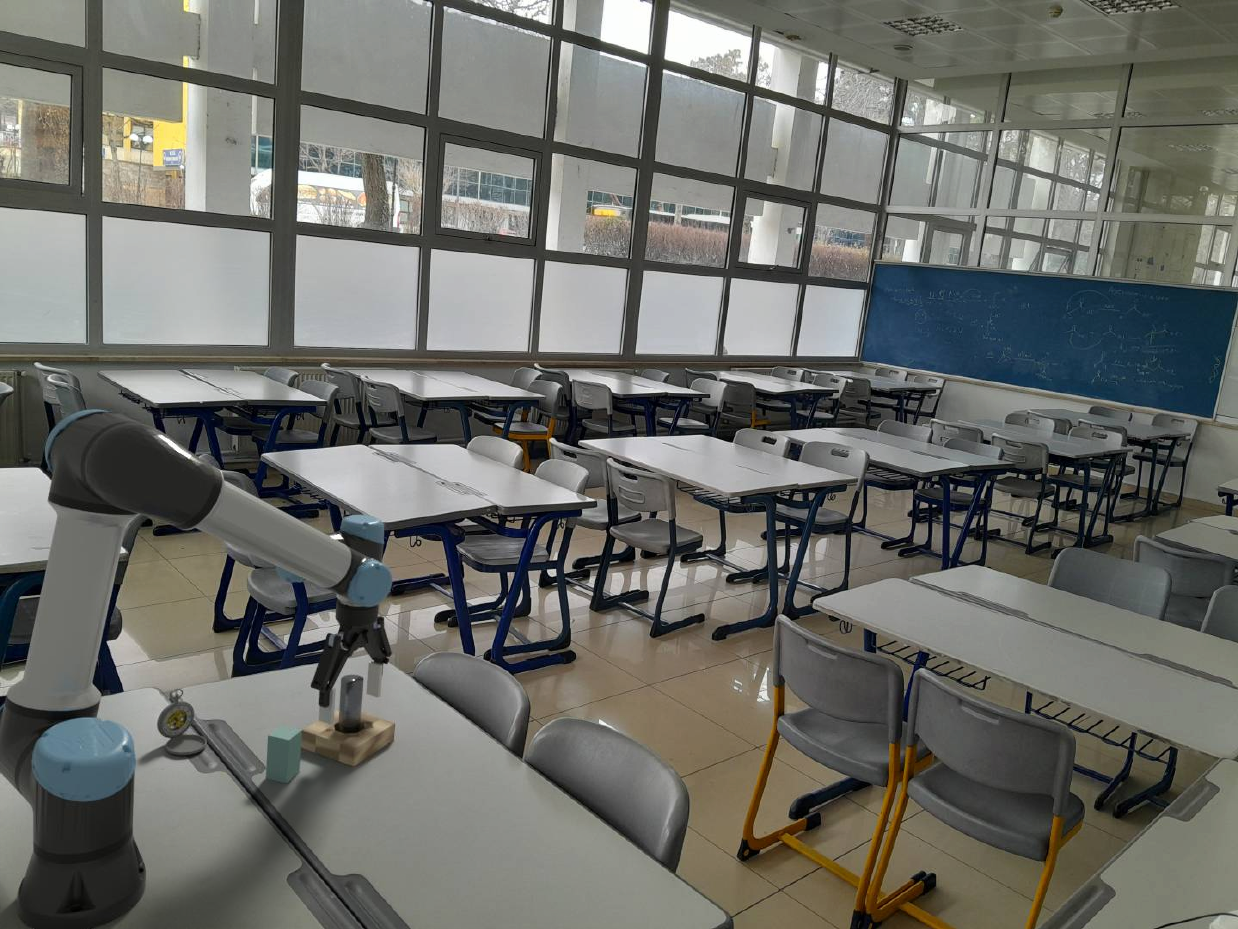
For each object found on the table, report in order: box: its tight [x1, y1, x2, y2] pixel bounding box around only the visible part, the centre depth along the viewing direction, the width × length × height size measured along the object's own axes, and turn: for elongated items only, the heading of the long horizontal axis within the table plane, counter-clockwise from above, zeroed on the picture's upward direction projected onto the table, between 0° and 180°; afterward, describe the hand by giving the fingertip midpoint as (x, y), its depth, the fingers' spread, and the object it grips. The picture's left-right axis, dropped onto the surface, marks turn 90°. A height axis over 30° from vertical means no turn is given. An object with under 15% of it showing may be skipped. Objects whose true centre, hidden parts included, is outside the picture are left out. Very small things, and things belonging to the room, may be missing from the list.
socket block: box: [301, 709, 396, 767], centre depth 173 cm, size 12×12×4 cm
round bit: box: [338, 674, 364, 734], centre depth 172 cm, size 4×4×13 cm
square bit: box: [265, 725, 303, 784], centre depth 160 cm, size 4×4×8 cm
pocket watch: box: [156, 688, 208, 756], centre depth 165 cm, size 8×8×10 cm
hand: (350, 708), depth 172 cm, fingers open, 13 cm apart
